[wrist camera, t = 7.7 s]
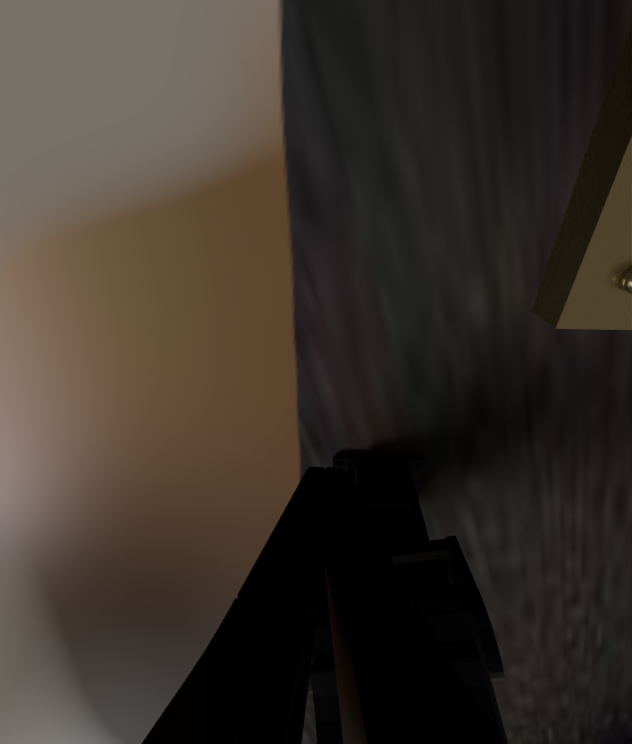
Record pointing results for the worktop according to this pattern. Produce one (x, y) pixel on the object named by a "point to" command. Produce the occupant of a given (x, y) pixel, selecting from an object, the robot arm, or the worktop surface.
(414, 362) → the worktop surface
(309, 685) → the robot arm
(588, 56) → the worktop surface
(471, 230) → the worktop surface
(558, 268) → the brass leaf
